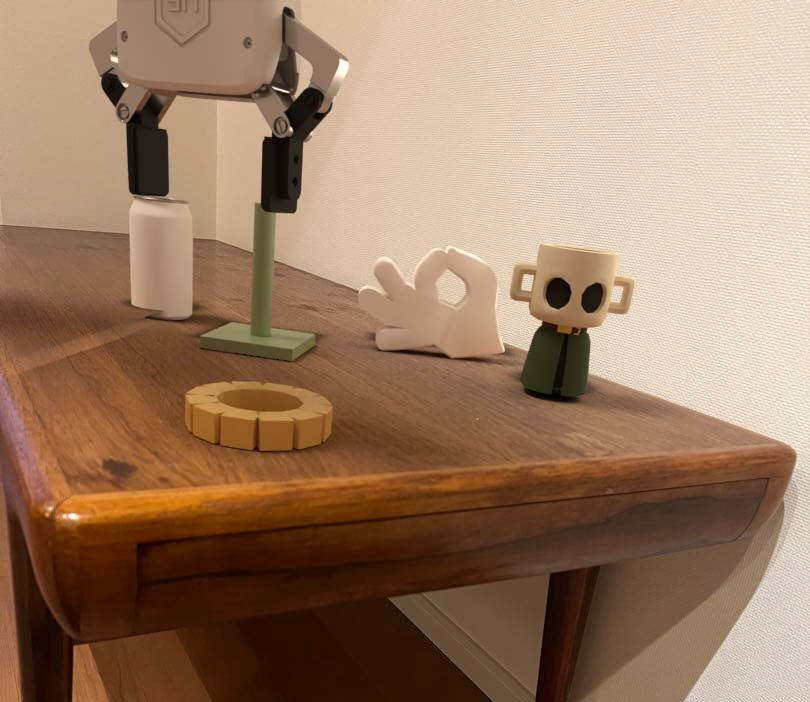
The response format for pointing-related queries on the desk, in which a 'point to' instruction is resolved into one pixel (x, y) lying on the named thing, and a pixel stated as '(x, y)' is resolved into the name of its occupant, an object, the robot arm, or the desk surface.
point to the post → (260, 307)
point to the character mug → (567, 312)
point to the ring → (258, 415)
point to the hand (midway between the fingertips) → (212, 203)
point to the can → (161, 256)
